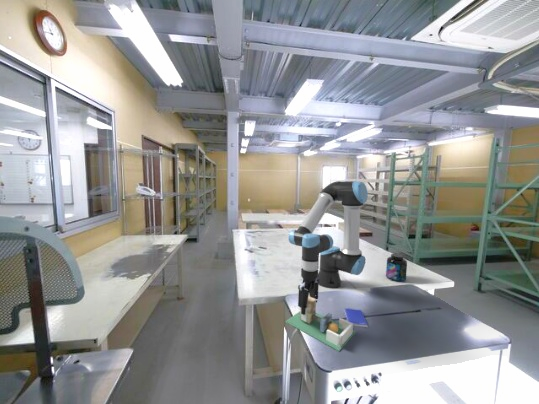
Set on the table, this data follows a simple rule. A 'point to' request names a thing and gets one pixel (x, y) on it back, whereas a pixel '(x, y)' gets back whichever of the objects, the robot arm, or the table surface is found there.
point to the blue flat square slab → (356, 317)
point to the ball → (333, 327)
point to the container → (396, 268)
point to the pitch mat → (316, 330)
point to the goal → (344, 335)
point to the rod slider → (312, 316)
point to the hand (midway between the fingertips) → (307, 317)
